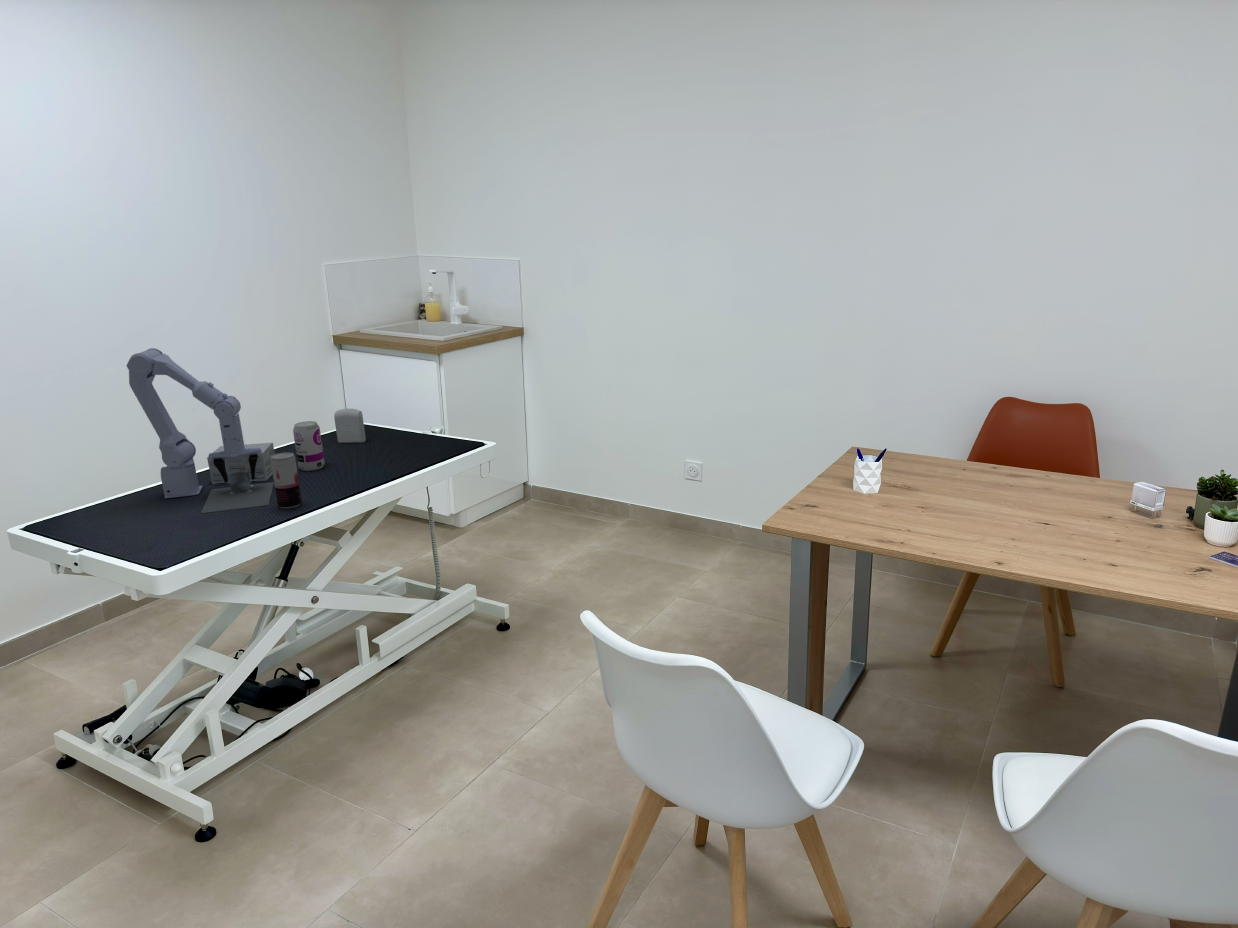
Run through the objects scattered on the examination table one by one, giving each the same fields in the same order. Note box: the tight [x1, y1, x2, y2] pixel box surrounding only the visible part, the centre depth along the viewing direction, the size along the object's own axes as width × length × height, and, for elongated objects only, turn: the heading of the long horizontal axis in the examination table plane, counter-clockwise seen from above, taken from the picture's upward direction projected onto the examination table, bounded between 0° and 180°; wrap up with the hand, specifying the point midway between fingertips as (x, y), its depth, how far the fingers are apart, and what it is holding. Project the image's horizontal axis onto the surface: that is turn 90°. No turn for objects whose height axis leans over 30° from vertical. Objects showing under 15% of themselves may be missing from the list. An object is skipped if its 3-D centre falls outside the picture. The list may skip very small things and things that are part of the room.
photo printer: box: [333, 408, 367, 444], centre depth 306 cm, size 10×4×12 cm, turn 85°
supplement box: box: [206, 442, 276, 485], centre depth 270 cm, size 17×13×9 cm
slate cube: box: [229, 471, 252, 493], centre depth 257 cm, size 5×5×5 cm
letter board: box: [200, 481, 275, 515], centre depth 252 cm, size 18×22×1 cm
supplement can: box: [292, 420, 326, 472], centre depth 276 cm, size 8×8×15 cm
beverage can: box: [271, 452, 303, 509], centre depth 242 cm, size 7×6×15 cm
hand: (239, 480), depth 257 cm, fingers open, 7 cm apart
